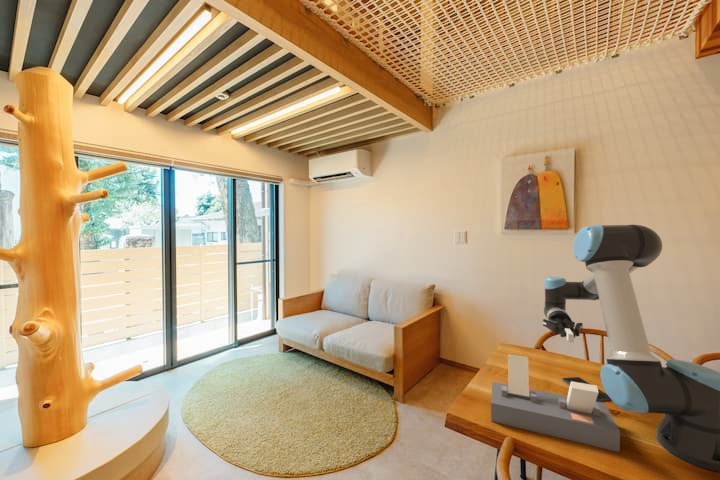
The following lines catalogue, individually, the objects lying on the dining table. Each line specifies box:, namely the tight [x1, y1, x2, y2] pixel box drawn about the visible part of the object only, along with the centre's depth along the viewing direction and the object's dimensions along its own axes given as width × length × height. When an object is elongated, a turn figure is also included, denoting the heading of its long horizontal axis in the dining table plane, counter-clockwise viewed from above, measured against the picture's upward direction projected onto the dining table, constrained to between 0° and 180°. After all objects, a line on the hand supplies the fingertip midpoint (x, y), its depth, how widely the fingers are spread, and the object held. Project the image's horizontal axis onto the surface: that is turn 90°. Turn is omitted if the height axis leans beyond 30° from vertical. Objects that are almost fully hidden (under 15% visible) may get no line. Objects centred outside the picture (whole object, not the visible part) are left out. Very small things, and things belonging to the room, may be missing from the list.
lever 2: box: [566, 381, 599, 414], centre depth 87 cm, size 2×6×12 cm
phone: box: [562, 376, 613, 402], centre depth 111 cm, size 8×1×15 cm
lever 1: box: [507, 353, 530, 397], centre depth 99 cm, size 2×6×12 cm, turn 65°
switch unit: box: [490, 381, 621, 453], centre depth 94 cm, size 14×32×8 cm, turn 64°
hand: (571, 338), depth 99 cm, fingers closed
